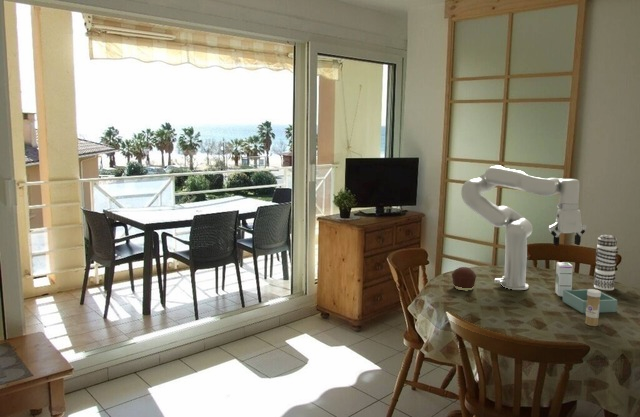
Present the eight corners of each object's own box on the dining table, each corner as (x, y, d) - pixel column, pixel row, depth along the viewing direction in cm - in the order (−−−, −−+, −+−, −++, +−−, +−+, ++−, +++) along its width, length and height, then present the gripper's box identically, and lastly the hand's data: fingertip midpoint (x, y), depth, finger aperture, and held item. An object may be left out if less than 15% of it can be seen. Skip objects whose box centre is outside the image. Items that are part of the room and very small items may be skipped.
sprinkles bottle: (583, 324, 191) (586, 290, 189) (586, 321, 195) (588, 287, 193) (597, 327, 188) (599, 293, 186) (599, 324, 192) (602, 290, 190)
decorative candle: (618, 290, 231) (622, 237, 228) (597, 290, 233) (600, 237, 229) (610, 285, 240) (614, 233, 237) (590, 284, 242) (593, 233, 238)
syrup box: (571, 297, 223) (573, 265, 221) (557, 296, 225) (559, 264, 222) (568, 293, 229) (570, 262, 227) (554, 292, 230) (556, 261, 228)
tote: (582, 313, 203) (583, 301, 203) (562, 301, 218) (563, 290, 217) (616, 311, 205) (617, 300, 204) (594, 300, 219) (595, 289, 218)
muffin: (451, 284, 244) (452, 264, 243) (475, 285, 241) (476, 265, 240) (451, 291, 233) (451, 270, 232) (476, 293, 230) (476, 272, 229)
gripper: (554, 208, 216) (552, 247, 219) (592, 207, 218) (590, 246, 220) (545, 206, 224) (543, 243, 226) (582, 205, 225) (580, 242, 228)
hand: (566, 244), depth 223 cm, fingers open, 9 cm apart
